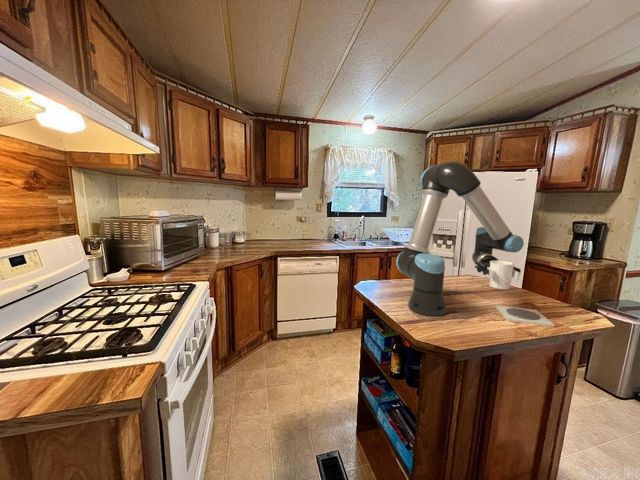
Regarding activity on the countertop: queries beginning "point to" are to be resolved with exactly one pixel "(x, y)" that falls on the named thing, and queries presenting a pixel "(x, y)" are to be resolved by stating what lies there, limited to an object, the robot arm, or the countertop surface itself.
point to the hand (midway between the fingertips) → (505, 275)
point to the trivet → (524, 315)
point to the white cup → (501, 274)
